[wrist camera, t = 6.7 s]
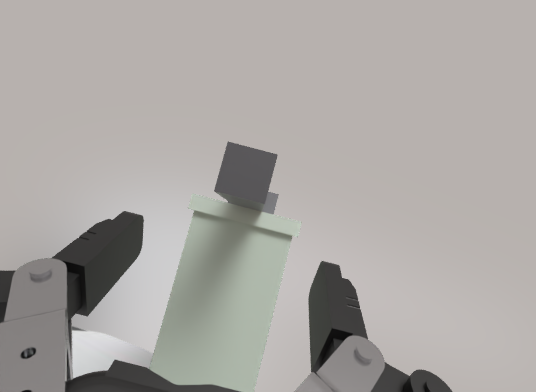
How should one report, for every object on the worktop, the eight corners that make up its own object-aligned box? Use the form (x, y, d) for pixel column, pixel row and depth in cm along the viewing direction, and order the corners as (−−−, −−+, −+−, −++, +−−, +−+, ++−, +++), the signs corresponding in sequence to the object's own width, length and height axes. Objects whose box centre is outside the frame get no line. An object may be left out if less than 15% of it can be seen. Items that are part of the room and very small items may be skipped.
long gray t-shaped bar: (290, 210, 16) (302, 161, 17) (188, 184, 16) (203, 135, 17) (270, 217, 42) (275, 198, 43) (231, 207, 42) (236, 188, 43)
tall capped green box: (213, 580, 25) (301, 221, 28) (90, 550, 25) (192, 193, 28) (234, 416, 46) (283, 222, 49) (167, 399, 46) (220, 205, 49)
